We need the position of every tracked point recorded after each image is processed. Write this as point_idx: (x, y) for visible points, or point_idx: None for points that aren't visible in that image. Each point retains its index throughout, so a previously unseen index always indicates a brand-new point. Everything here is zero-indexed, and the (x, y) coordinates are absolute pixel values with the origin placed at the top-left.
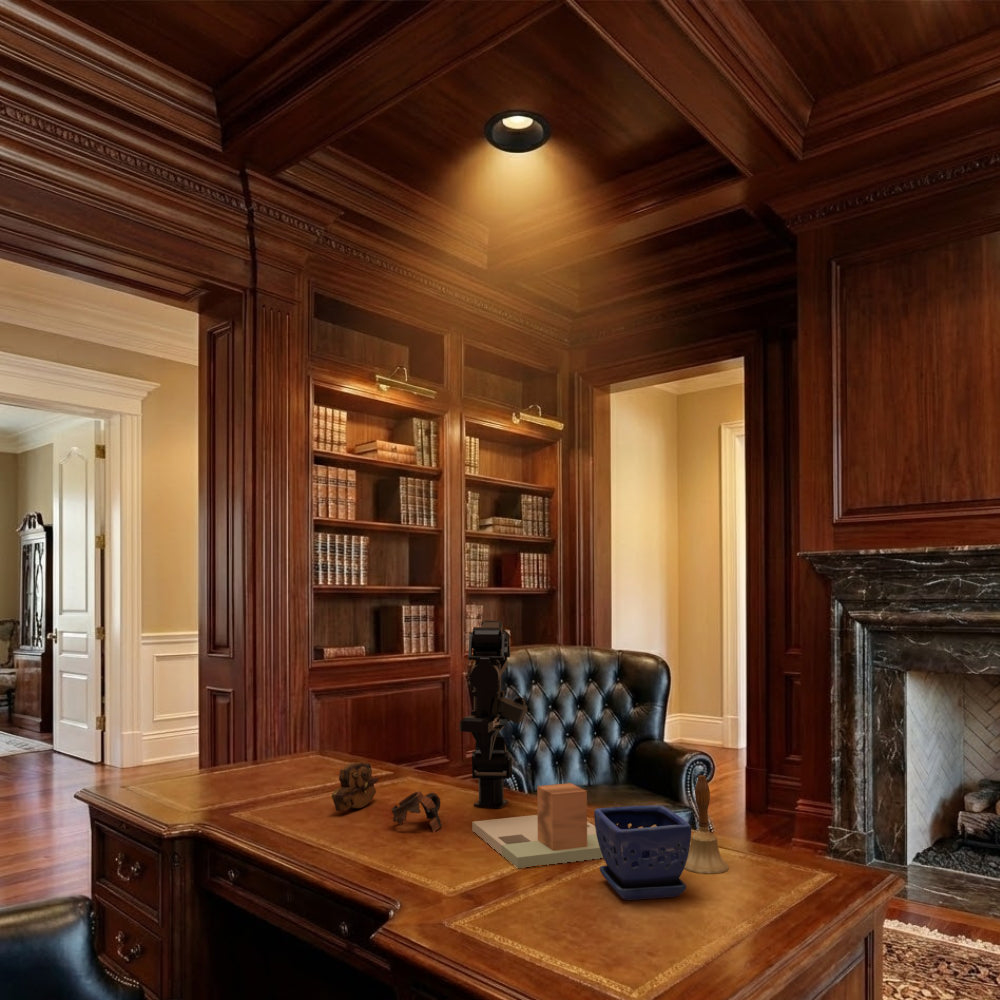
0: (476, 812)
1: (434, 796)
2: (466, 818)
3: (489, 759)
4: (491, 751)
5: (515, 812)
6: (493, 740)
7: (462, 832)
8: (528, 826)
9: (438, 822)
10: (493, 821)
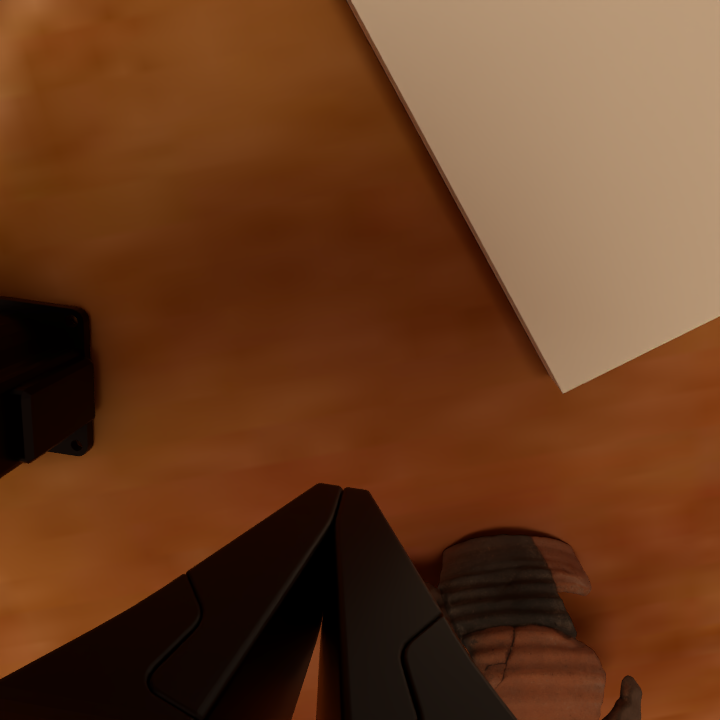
0: (185, 418)
1: None
2: (307, 445)
3: (359, 490)
4: (314, 529)
5: (125, 210)
6: (250, 644)
7: (565, 420)
8: (658, 10)
9: (537, 556)
10: (552, 272)
